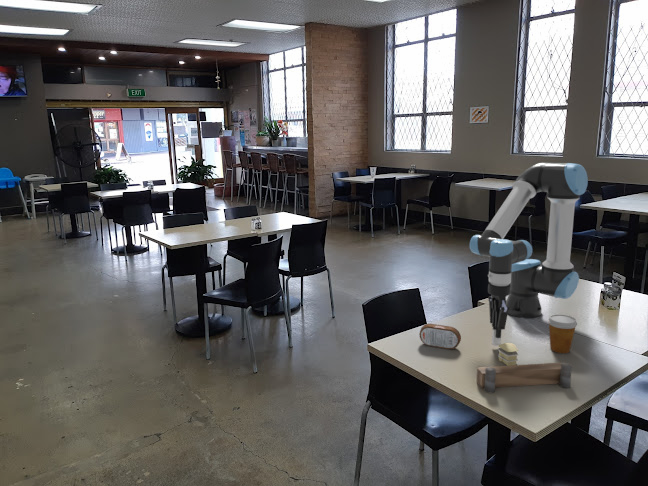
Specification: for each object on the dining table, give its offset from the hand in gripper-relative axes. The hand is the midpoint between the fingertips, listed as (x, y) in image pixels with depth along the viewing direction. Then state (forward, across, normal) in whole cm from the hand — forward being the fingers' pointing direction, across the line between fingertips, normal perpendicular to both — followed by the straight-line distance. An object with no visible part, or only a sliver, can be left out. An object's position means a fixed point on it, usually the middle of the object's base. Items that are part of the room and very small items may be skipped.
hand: (496, 344), depth 181 cm
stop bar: (+2, +26, -2) cm, 27 cm away
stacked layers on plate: (+2, +10, 0) cm, 10 cm away
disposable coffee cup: (+2, +4, +22) cm, 23 cm away
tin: (+2, -4, -20) cm, 20 cm away
